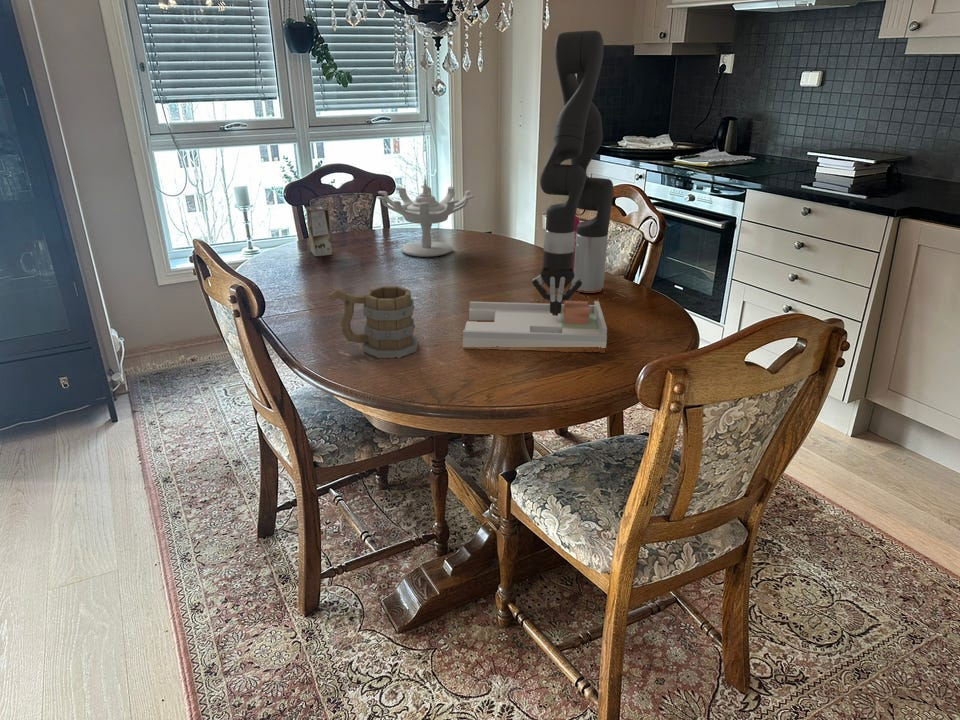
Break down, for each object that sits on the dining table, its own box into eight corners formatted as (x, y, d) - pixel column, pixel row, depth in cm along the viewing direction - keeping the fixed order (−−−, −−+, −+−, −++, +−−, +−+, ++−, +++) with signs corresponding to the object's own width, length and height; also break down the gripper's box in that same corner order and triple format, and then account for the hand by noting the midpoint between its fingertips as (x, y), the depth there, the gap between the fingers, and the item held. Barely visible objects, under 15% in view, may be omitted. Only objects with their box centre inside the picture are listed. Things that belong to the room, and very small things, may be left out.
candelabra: (383, 267, 221) (378, 184, 210) (377, 242, 252) (373, 169, 241) (482, 262, 227) (482, 182, 216) (464, 238, 259) (464, 167, 247)
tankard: (418, 337, 164) (416, 280, 158) (415, 358, 152) (413, 297, 146) (338, 338, 163) (333, 280, 157) (329, 359, 152) (323, 297, 146)
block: (563, 315, 171) (564, 300, 169) (586, 316, 170) (587, 301, 169) (564, 323, 165) (565, 308, 164) (588, 324, 165) (589, 309, 163)
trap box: (470, 317, 178) (470, 296, 175) (596, 320, 176) (598, 299, 173) (462, 349, 158) (462, 325, 155) (605, 353, 156) (607, 330, 153)
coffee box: (332, 254, 235) (328, 209, 228) (314, 256, 232) (310, 211, 226) (326, 248, 242) (322, 205, 236) (309, 250, 240) (305, 206, 233)
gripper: (584, 245, 164) (579, 310, 171) (532, 243, 165) (529, 308, 172) (587, 253, 158) (582, 320, 165) (532, 251, 158) (529, 318, 165)
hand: (555, 314), depth 168 cm, fingers closed
